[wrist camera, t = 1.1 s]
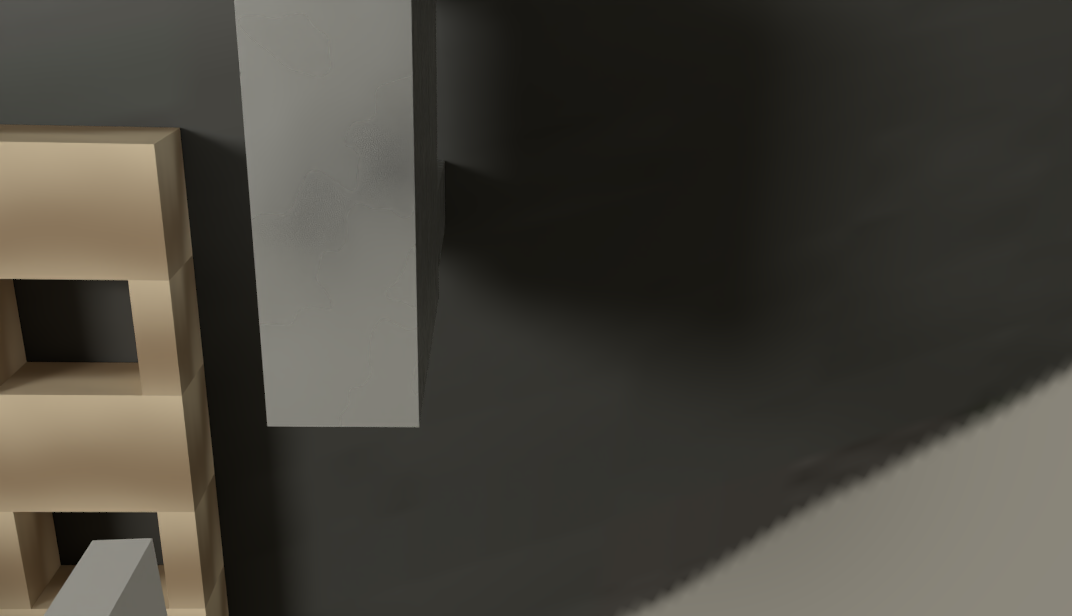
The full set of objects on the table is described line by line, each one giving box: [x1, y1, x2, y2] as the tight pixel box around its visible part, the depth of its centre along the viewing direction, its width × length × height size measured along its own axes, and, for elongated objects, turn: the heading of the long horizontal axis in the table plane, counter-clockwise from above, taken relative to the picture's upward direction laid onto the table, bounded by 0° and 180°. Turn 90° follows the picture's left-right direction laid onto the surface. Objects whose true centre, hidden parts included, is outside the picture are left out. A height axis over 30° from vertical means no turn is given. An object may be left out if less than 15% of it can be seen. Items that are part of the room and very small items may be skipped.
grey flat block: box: [234, 0, 445, 427], centre depth 25 cm, size 12×3×12 cm, turn 179°
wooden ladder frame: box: [0, 125, 229, 616], centre depth 33 cm, size 20×7×2 cm, turn 179°
